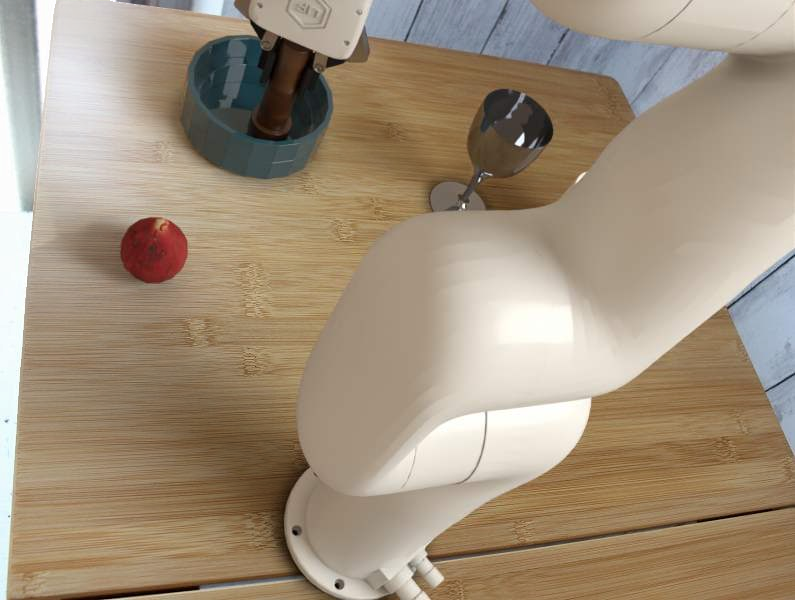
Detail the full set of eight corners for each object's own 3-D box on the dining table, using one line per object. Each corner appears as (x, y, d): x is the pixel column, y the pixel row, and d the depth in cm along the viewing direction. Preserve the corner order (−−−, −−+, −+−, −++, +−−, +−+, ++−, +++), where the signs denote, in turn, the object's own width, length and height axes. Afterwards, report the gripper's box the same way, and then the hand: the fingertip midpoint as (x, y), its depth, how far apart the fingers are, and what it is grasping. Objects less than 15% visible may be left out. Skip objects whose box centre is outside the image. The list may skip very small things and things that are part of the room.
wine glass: (415, 182, 96) (470, 90, 84) (471, 175, 100) (531, 86, 88) (444, 239, 93) (505, 152, 81) (500, 229, 97) (566, 144, 85)
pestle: (295, 139, 90) (330, 49, 80) (264, 153, 88) (296, 62, 78) (270, 110, 91) (301, 19, 81) (238, 123, 89) (266, 30, 78)
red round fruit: (168, 308, 76) (181, 260, 70) (106, 285, 75) (114, 235, 69) (189, 260, 80) (204, 210, 73) (131, 237, 79) (140, 185, 72)
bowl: (344, 152, 94) (361, 116, 89) (238, 202, 85) (250, 165, 81) (261, 60, 97) (273, 20, 92) (150, 99, 88) (157, 57, 83)
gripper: (230, -96, 66) (193, 73, 80) (422, -9, 69) (352, 138, 83) (257, -142, 70) (217, 26, 84) (435, -58, 73) (367, 90, 87)
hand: (285, 80), depth 84 cm, fingers closed on pestle, 3 cm apart
